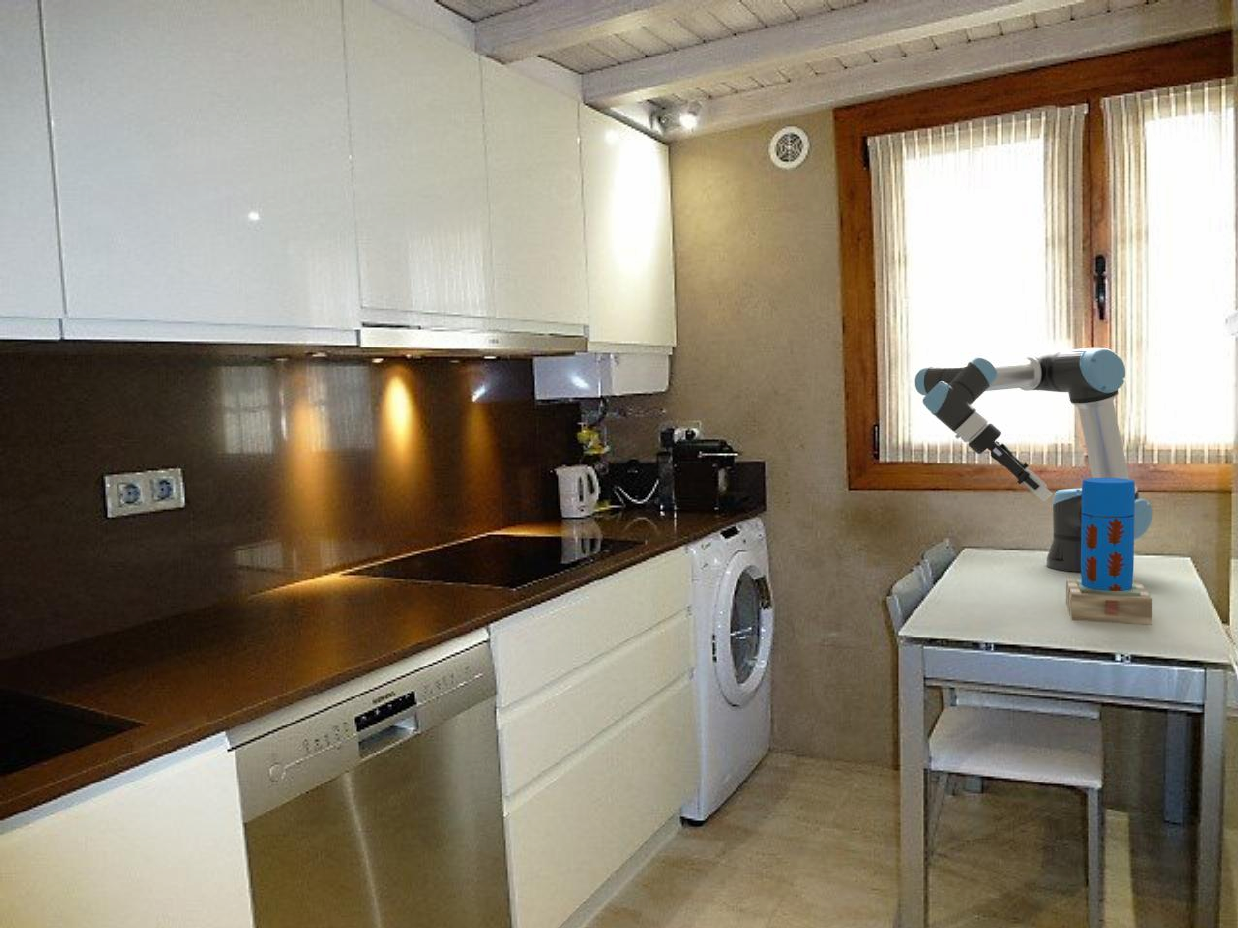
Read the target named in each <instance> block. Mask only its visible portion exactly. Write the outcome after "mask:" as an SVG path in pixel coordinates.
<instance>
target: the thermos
mask: <svg viewBox="0 0 1238 928" xmlns="http://www.w3.org/2000/svg"><path fill="white" fill-rule="evenodd" d="M1135 486H1136V484H1135V480H1133V479H1130V478H1129V479H1121V478H1093V477H1092V478H1091V477H1090V478H1084V479H1083V480H1082V486H1081V488H1082V529H1081V572H1080V576H1081V577H1080V579H1081V580H1082V585H1083V586H1084V587H1087V588H1091V589H1096V590H1104V591H1125V590H1130V589H1132V582H1134V580H1133V579H1134V561H1135V560H1134V559H1135V556H1134V554H1135V551H1134V550H1135V540H1134V514H1135Z"/></svg>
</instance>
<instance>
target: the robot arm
mask: <svg viewBox="0 0 1238 928" xmlns="http://www.w3.org/2000/svg"><path fill="white" fill-rule="evenodd" d="M1125 376H1126V368H1125V365H1124V361H1123V359H1122V358H1121V357H1120V355H1119V354H1118V353H1117V352H1115V351H1114V350H1112V349H1110V348H1106V347H1087V348H1086V347H1085V348H1073V349H1057V350H1052V351H1047V352H1044V353H1039V354H1033V355H1024V356H1022V357H1020V358H1019V359H1018V360H1009V361H997V362H995V361H994V362H992V361H990V360H989V359H987V358H985V357H975V358H974V359H971V361H969V362H968V363H967V364H961V365H951V366H949V365H948V366H941V367H939V366H938V367H933V366H929V367H925V368H921V369H920V370H919V371H918V372H917V373H916V374H915V377H914V388H915V390H916V392H917V393H919V395H921V396H923V398H922V404H923V405H924V407H925V408H926V409H927V410H928V411H929V412H930V413H931V414H932V415H933V416H934V417H936V418H937V419H938V420H939V421H941V423H943V424H944V425H945V426H946V427H947V428H948V429H949V430H951V431H952V432H953V434H956V435H955V436H954V437H955V439H959V438H960V440H962V441H963V442H964V443H967V444H968V447H969V448H970V449H971V450H972V451H974V452H975V453H976V454H978V455H981V454H982V453H983V452H985V451H986V450H988V451H989V452H990V457H991V458H993V459H994V460H995V461H997V462H998V463H999V464H1000V465H1001V466H1002V467H1005V468H1006V469H1007V470H1008V471H1009V472H1010V473H1011V474H1012V475H1013V476H1014V477H1015V478H1016V479H1017V482H1016V483H1018V484H1019V485H1022V484H1023V485H1024V486H1026V488H1028V489H1029V491H1031V492H1032V493H1033V494H1034V495H1035V496H1036V497H1038V498H1039V499H1040V500H1041V501H1042V502H1045V501H1047V500H1048V499H1049V498H1050V497H1051V496H1052V495H1053V492H1051V491H1050V490H1049V489H1048V487H1049V486H1048V485H1047V484H1046V483H1045V482H1044V481H1043V480H1042V479H1041V478H1040V477H1039V476H1038V475H1036V474H1035V472H1033V471H1032V470H1031V469H1030V468H1029V464H1028V463H1027V462H1022V461H1020V460H1019V459H1018V458H1016V457H1015V455H1013V452H1012V451H1011V450H1010V449H1008V447H1007V446H1006V445H1005V444H1004V443H1001V444H1000V442H999V441H997V440H998V439H999V438H1000V437H1001V434H1002V432H1001V430H1000V429H998V428H997V427H996V426H995V425H994V424H992V423H989V420H988V419H987V418H986V417H985V416H984V415H983V414H982V413H980V412H979V410H978V409H976V408H975V407H973V406H972V404H974V403H975V401H977V399H978V398H979V397H980V396H982V395H983V393H985V392H988V391H990V392H991V391H1000V390H1001V391H1002V390H1011V389H1012V390H1013V389H1021V390H1023V391H1043V392H1045V391H1046V392H1054V393H1056V392H1057V393H1068V397H1069V402H1070V404H1072V405H1074V406H1075V407H1077V409H1078V414H1079V419H1080V424H1081V428H1082V429H1081V430H1082V433H1083V439H1084V443H1085V447H1086V451H1087V452H1086V453H1087V458H1088V462H1089V467H1090V472H1091V476H1092V478H1121V479H1130V477H1129V472H1128V467H1127V461H1126V457H1125V452H1124V448H1123V447H1124V446H1123V442H1122V437H1121V432H1120V427H1119V421H1118V418H1117V412H1116V406H1115V402H1114V400H1115V399H1116V398H1117V396H1119V389H1120V388H1121V387H1122V386H1123V384H1124V383H1125V381H1124V378H1126V377H1125ZM1052 506H1053V510H1052V511H1053V512H1052V513H1053V517H1052V518H1053V524H1052V525H1053V526H1052V527H1053V539H1052V543H1051V546H1050V548H1049V550H1048V553H1047V556H1046V566H1047V567H1048V568H1050V569H1052V570H1053V569H1054V570H1057V571H1058V570H1059V571H1065V572H1079V573H1081V529H1082V487H1081V488H1079V487H1078V488H1068V489H1067V488H1066V489H1059V490H1057V491H1055V493H1054V496H1053V504H1052ZM1153 513H1154V512H1153V507H1152V505H1151V503H1150V502H1149V501H1148V500H1147V499H1144V498H1140V495H1139V489H1138V487H1137V486H1136V485H1135V514H1134V541H1135V540H1139V539H1140V538H1142V537H1143V536H1144V535H1145V534H1146V533H1147V532H1148V530H1149V528H1150V526H1151V524H1152V520H1153Z"/></svg>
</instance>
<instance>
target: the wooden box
mask: <svg viewBox="0 0 1238 928" xmlns="http://www.w3.org/2000/svg"><path fill="white" fill-rule="evenodd" d="M1065 605H1066V607H1067V610H1068V612H1069V613H1068V614H1069V615H1070V618H1071V621H1087V622H1101V623H1117V624H1118V623H1120V624H1134V625H1135V624H1137V625H1147V626H1148V625H1151V626H1152V624H1153V597H1152V596H1151V595H1150V593H1149V591H1147V589H1146V587H1144V585H1143V584H1142V583H1141V582H1135V581H1133V582H1132V589H1130V590H1125V591H1104V590H1096V589H1091V588H1087V587H1084V586H1083V585H1082V580H1081V578H1075V579H1068V578H1066V579H1065Z"/></svg>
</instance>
